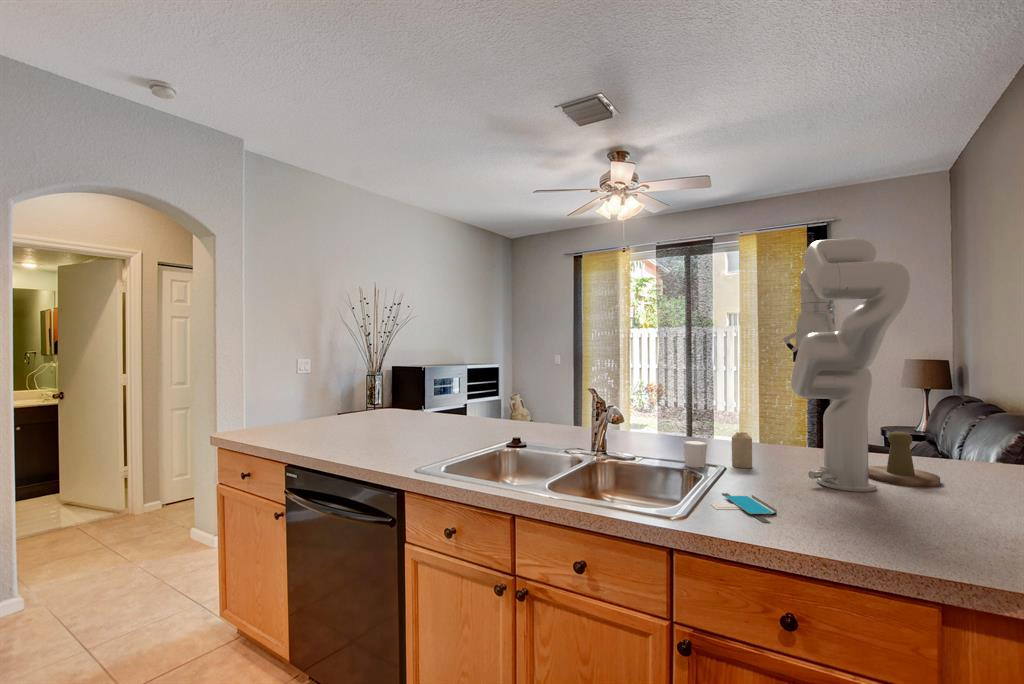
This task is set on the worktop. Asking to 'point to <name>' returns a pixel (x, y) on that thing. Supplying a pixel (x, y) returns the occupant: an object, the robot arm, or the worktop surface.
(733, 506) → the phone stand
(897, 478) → the walnut board
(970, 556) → the worktop surface
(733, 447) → the candle
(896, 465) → the olive green pepper mill
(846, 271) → the robot arm
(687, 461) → the white cup
